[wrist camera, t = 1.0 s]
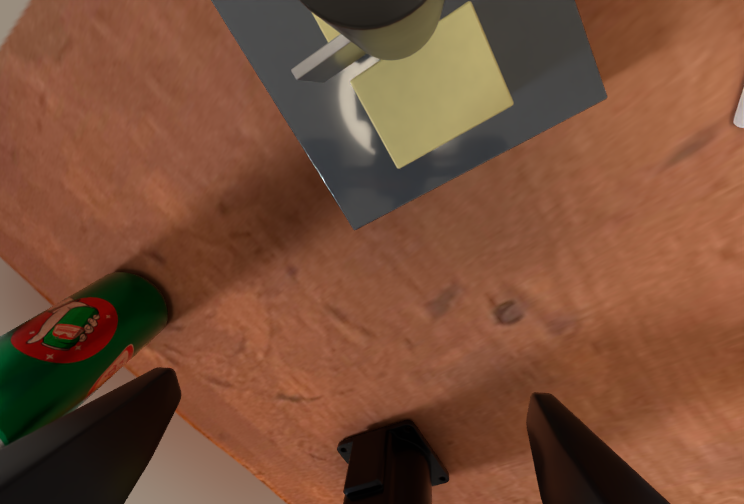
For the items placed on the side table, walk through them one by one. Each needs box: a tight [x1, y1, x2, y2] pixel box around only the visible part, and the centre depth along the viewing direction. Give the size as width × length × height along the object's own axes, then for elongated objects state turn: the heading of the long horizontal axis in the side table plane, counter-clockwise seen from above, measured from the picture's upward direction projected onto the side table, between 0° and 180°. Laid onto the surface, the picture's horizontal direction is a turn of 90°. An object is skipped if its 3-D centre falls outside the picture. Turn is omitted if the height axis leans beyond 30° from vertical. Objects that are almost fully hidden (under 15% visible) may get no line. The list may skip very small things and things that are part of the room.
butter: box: [312, 1, 514, 169], centre depth 13 cm, size 8×4×3 cm, turn 30°
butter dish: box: [211, 0, 607, 230], centre depth 16 cm, size 12×12×3 cm
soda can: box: [0, 272, 168, 449], centre depth 20 cm, size 5×5×12 cm
